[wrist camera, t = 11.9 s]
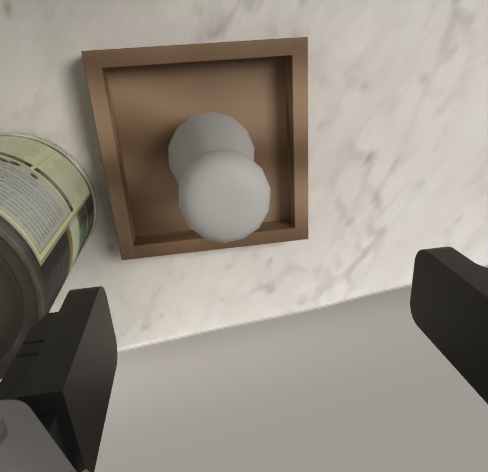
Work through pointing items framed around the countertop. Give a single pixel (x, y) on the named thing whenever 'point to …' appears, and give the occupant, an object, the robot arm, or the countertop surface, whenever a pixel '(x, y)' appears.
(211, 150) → the salt shaker
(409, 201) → the countertop surface
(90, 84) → the walnut tray
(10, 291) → the coffee can
